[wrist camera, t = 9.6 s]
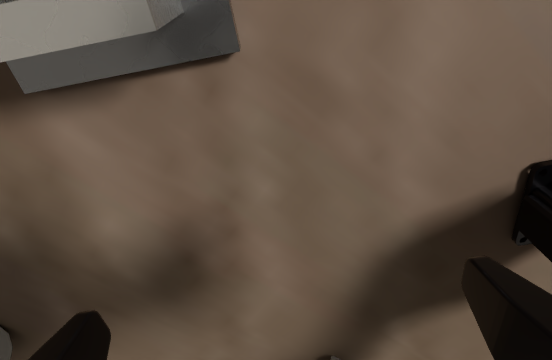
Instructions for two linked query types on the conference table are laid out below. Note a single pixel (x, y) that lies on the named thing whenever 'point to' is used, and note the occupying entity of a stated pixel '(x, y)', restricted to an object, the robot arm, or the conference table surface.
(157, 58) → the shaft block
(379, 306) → the conference table surface
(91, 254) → the conference table surface
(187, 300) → the conference table surface
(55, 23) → the grey hollow square block
